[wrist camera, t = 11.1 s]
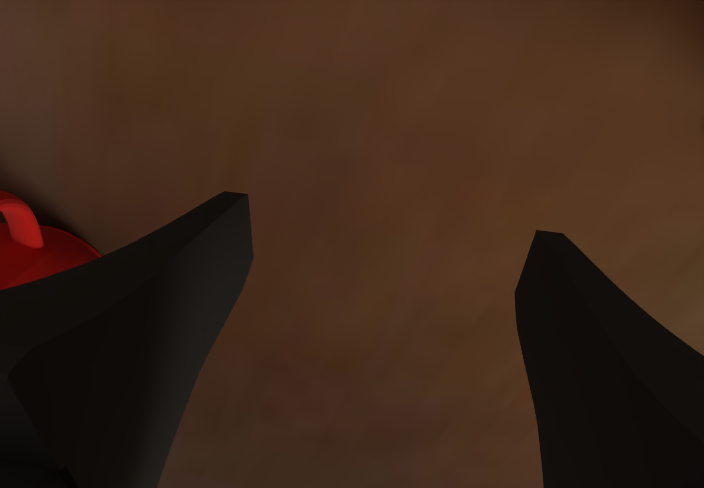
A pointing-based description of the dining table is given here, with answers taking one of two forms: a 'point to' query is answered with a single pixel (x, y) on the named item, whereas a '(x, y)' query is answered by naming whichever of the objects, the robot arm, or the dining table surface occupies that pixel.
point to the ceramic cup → (35, 246)
